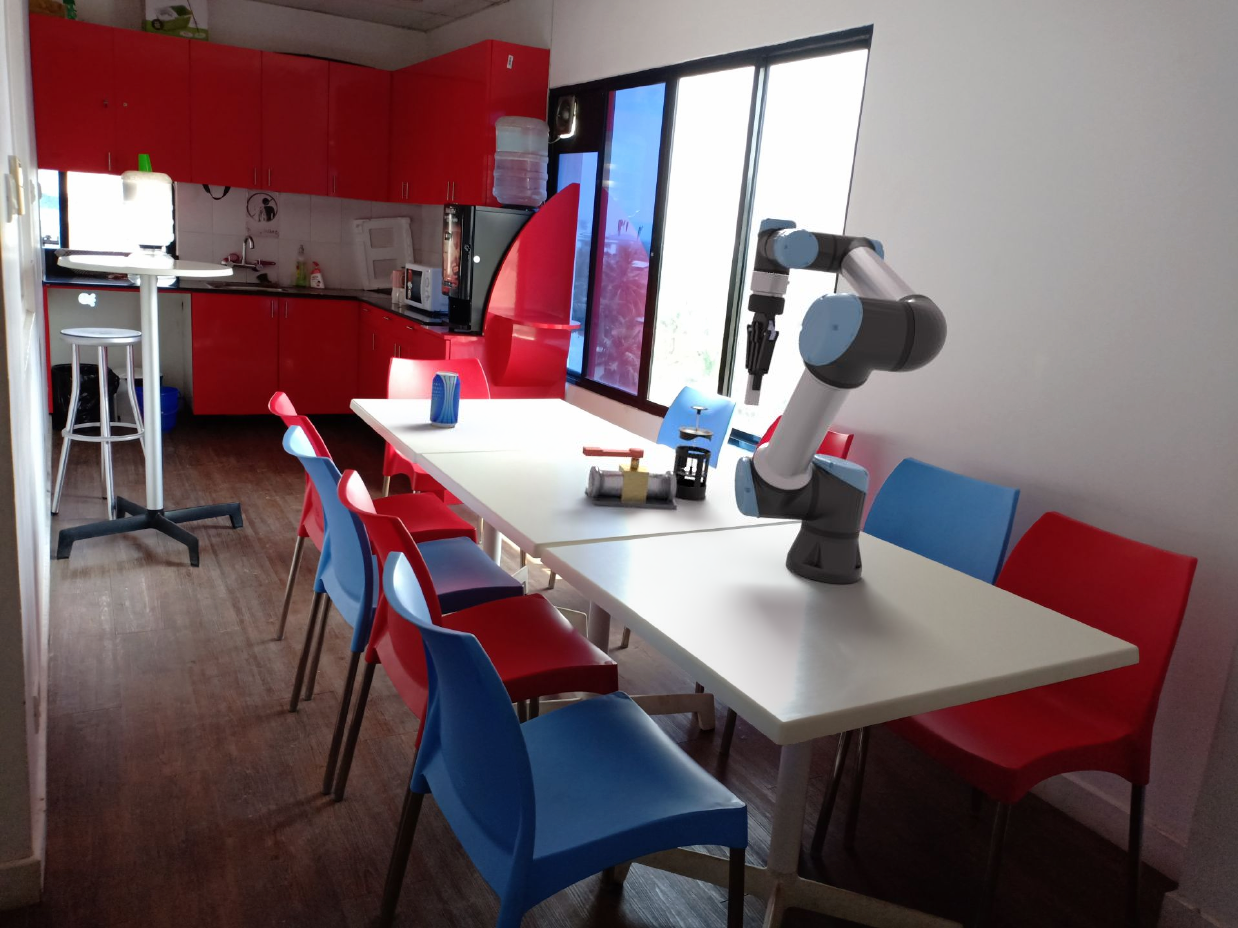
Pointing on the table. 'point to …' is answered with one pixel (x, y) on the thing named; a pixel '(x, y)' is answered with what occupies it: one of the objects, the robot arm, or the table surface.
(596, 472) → the valve body
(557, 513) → the table surface
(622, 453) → the lever
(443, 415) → the beer can
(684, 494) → the french press
